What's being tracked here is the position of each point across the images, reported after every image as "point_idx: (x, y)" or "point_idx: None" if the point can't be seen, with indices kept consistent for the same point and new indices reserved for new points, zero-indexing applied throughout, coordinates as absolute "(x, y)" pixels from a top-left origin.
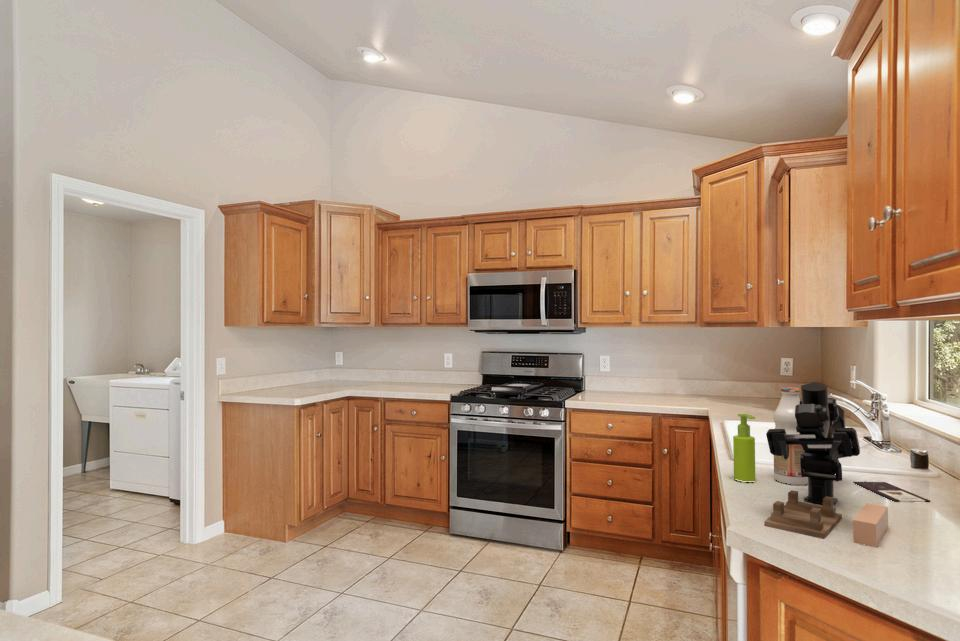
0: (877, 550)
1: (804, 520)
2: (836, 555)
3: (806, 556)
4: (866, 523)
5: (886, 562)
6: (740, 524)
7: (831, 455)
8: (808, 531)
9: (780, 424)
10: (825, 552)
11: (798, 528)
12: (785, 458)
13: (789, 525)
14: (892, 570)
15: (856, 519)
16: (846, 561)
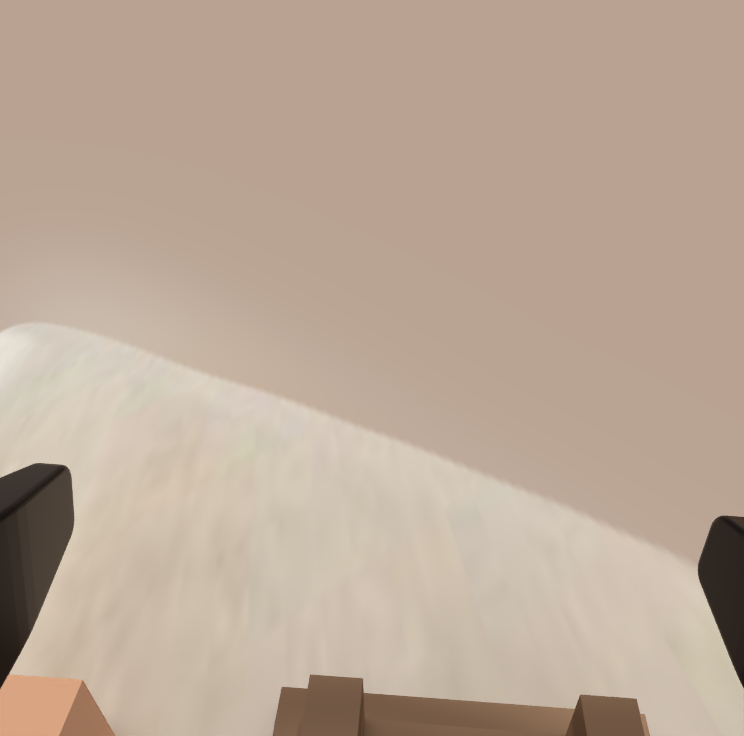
0: None
1: (402, 734)
2: (234, 505)
3: (339, 438)
4: (6, 678)
5: None
6: None
7: (31, 466)
8: (369, 695)
9: None
10: (275, 512)
11: (427, 699)
12: (708, 558)
13: (489, 726)
14: None
15: (54, 709)
16: (202, 470)
